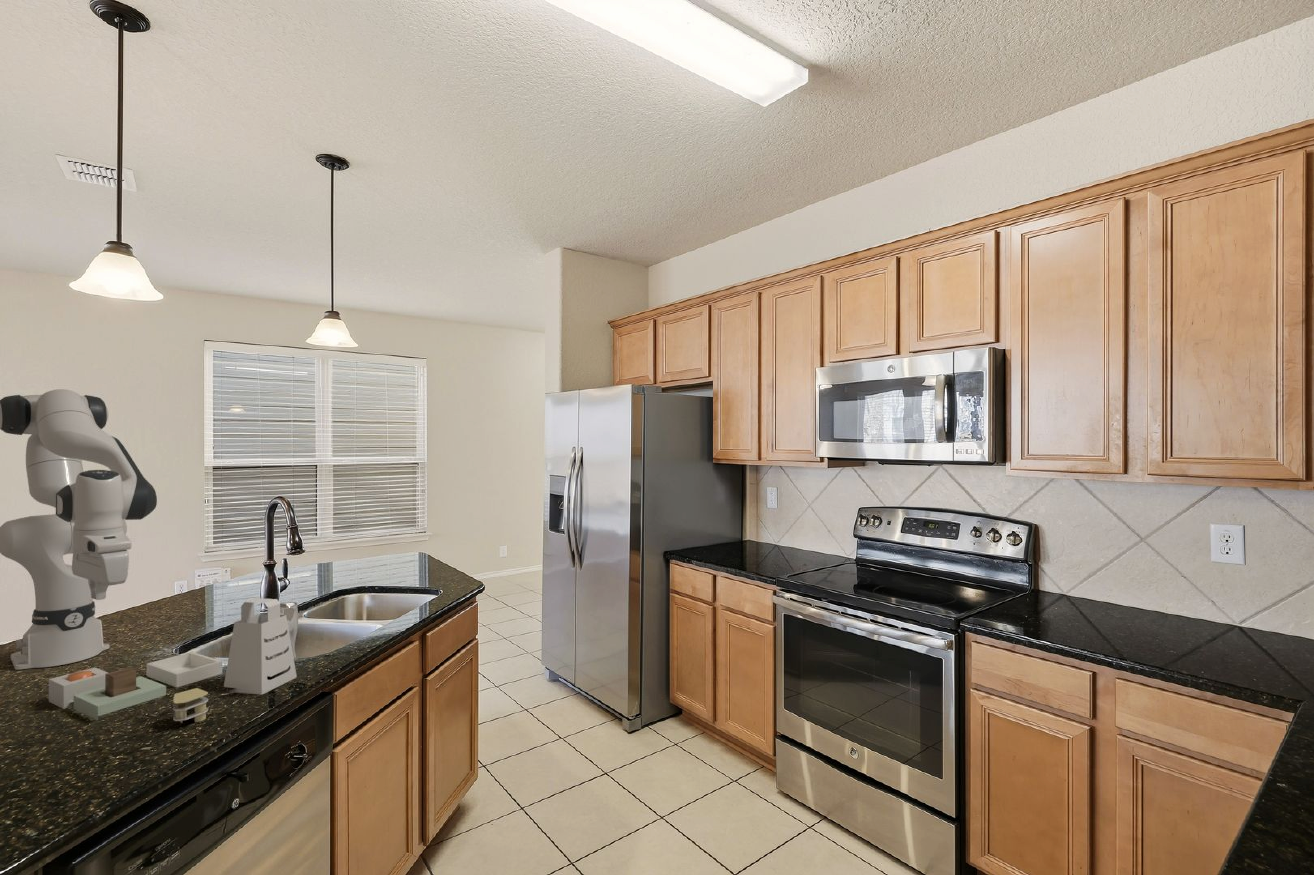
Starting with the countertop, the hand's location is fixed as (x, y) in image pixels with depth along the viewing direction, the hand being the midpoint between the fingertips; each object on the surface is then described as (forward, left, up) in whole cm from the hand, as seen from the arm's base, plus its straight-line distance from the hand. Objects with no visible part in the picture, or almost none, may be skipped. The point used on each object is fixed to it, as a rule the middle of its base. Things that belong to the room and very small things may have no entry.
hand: (98, 598), depth 142 cm
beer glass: (+20, +31, -22) cm, 43 cm away
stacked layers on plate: (+36, +2, -22) cm, 43 cm away
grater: (+30, +20, -22) cm, 42 cm away
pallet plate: (+14, -1, -22) cm, 26 cm away
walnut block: (+14, -1, -21) cm, 25 cm away
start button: (+2, -4, -19) cm, 19 cm away
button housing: (+2, -4, -22) cm, 22 cm away
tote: (+10, +13, -22) cm, 27 cm away
